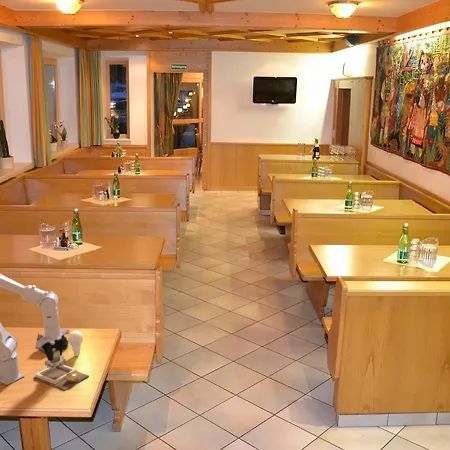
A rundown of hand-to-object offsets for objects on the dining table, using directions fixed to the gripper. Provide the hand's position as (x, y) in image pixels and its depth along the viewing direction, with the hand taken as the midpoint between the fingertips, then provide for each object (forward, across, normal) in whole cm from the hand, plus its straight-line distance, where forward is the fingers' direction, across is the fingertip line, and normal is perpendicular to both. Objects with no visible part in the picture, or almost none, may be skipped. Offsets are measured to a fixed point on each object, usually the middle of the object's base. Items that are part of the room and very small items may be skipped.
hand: (54, 357), depth 220 cm
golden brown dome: (+8, 0, -9) cm, 12 cm away
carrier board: (+8, 0, -3) cm, 8 cm away
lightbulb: (+8, +16, +6) cm, 19 cm away
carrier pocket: (+8, 0, 0) cm, 8 cm away
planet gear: (+3, 0, 0) cm, 3 cm away
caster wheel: (+8, +16, +20) cm, 27 cm away
